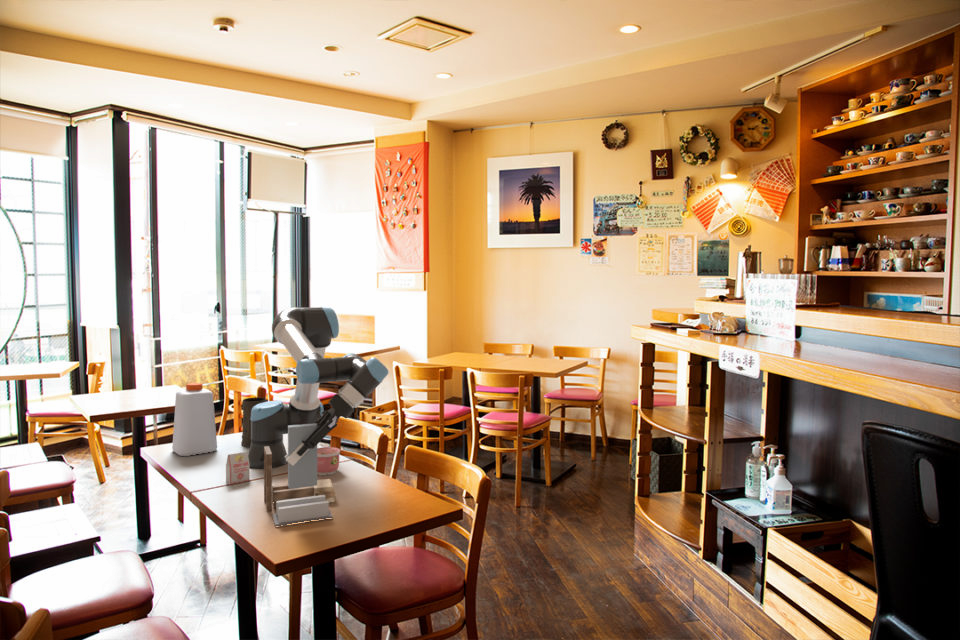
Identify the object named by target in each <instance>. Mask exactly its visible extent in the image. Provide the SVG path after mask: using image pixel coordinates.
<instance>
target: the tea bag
mask: <svg viewBox="0 0 960 640" xmlns="http://www.w3.org/2000/svg"><path fill="white" fill-rule="evenodd" d="M248 453H249V451H243V452H242V451H241V452H236V453H230V454H227V458H226V463H225V482H226V483H227V484H228V483H229V484H228V485H234V483H235V484H240V483H244V481H245V482H248V481H250V477H251V476H250V474H251V473H250V470H251V469H250V468H251V467H250V463H249V458H248ZM239 482H240V483H239Z"/></svg>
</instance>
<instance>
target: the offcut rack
mask: <svg viewBox="0 0 960 640" xmlns="http://www.w3.org/2000/svg"><path fill="white" fill-rule="evenodd" d="M263 480H264V481H263V501H264V503H266V504H265V507H266V508H265V509H266V510H272V511H273V509H276V508H275V507H276V501H281V500H288V499H296V498H304V497H311V496H319V495H325V501H328V502H334V503H335V497H336V490H334V489H333V484H332V480H331V478H325V479H324V478H323V479H317V485H316V486H308V487H300V488H292V489H289V487H288V483H287V484H280V485H279V484H278V485H273V467H272V453H271V450H270V448H269V446H265V447H264V468H263ZM273 502H274V503H273Z"/></svg>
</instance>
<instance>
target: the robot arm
mask: <svg viewBox="0 0 960 640" xmlns="http://www.w3.org/2000/svg"><path fill="white" fill-rule="evenodd" d="M271 324H272V325H271V333H272V335H273V337H274V338H275V340H276V341H277V342H278V343H280V344H281V345H283V347H285V349H286V350H287V352H288V353H289V355H290V357H292V359H293V360H294V362H295V363H296V366H295V375H296V383H295V384H296V385H295V391H294V394H292V395H291V396H290V398H289V403H284V402H283V401H282V400H271V401H270V400H269V401H266V402H263V403H260V404H257V405H255V406H254V407H253V408H252V410H251V418H250V420H251V446H250V447H249V450H248V458H249V463H250V468H252V469H253V468H255V469H264V447H265V446H269V448H270V450H271V453H272V468H276V467H280V466H281V467H282V466H283V465H285V464H288V462H289V463H290V464H291V465H292V466H294V465H295V464H296V462H297V461H298V460H299V459H300V458H301V457H302V456H303V455H304V454H305V453H306V452H307V451H308V450H309V449H311V448H312V449H313V448H314V447H315V446H316V445H317V446H318V444H319V443H320V442H321V441H323V439H324V438H325V437H326V436H328V434H329V433H331V431H332V430H334V429H335V428H337V426H338V422H339V419H340V418H341V417H343V418H345V419H348V418H349V417H350V416H351V415H352V413H354V412H355V409H357V408H358V407H359V406H360V405H363V404H364V401H365V400H366V398H367V397H369V396H370V395H371V393H372V392H373V391H375V389H376V388H377V387H378V386H380V384H381V383H383V381H384V380H385V379H386V377H387V376H388V375H389V370H388V368H387V367H386V366H385V364H383V363H382V362H381V361H380V360H379V359H378V358H376V357H374V356H372V357H370V358H369V359H367V360H366V359H364V358H363V357H362V356H361V355H358V354H356V353H346V354H345V355H343V356H341V357H325V354H326V349H327V348H329V346H330V345H331V343H332V339H333V340H334V339H336V338H338V337H339V334H340V325H339V324H340V323H339V319H338V316H337V313H336V311H335V310H334V309H333V308H331V307H322V306H320V307H298V306H295V307H294V306H293V307H288V308H286V309H284V310H282V311H281V312H279V313H278V314H277V315H276V316H274V319H273V322H272V323H271ZM333 382H335V383H336V382H346V383H345V384H344V385H342V387H340V389H338V392H337V393H336V394H334V395H333V396H332V397H331V398H330V400H328V404H329V405H330V406H331V407H330V408H329V409H328V410H326V411H325V410H324V404H323V403H322V402H321V400H320V398H319V397H318V394H319V388H320V384H321V383H333ZM354 408H355V409H354ZM314 423H316V424H317V428H316V429H315V431H314V432H313V433H312V434H311V435H310V436H309V437H308V438H307V440H306V441H303V440H302V443H301V444H300V445H299V446H298V447H297V448H296V450H295V451H294V452H293V453H292V454H291V455H290V456H289V457H288V452H287V449H286V447H285V444H284V435H288V426H289V425H301V424H314Z"/></svg>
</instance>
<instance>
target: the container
mask: <svg viewBox="0 0 960 640" xmlns="http://www.w3.org/2000/svg"><path fill="white" fill-rule="evenodd" d="M340 453H341V449H340V448H338V447H334V446H333V447H332V446H331V447H330V446H325V447H324V446H323V447H317V474H319V475H318V476H327V475H326V474H331V475H333V474H332V473H334V472H335V473H337V470H338V469H339V466H340ZM335 473H334V474H335Z"/></svg>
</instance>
